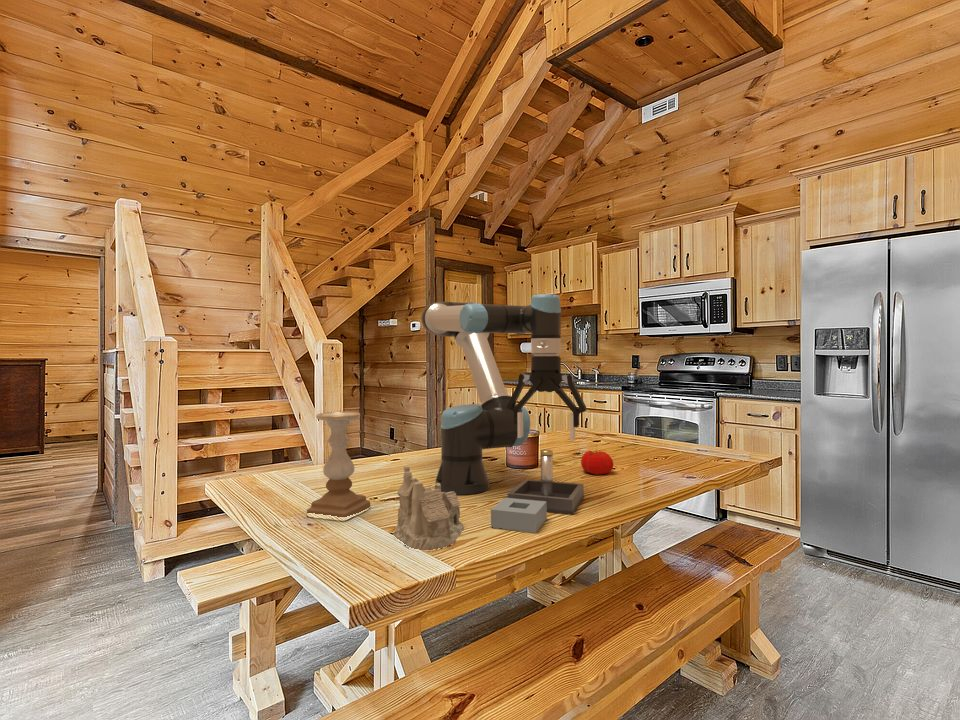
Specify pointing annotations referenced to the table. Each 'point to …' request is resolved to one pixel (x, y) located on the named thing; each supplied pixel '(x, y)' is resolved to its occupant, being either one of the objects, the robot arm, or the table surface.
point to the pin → (547, 472)
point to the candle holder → (339, 471)
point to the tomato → (597, 462)
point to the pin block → (519, 515)
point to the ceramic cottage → (426, 515)
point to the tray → (563, 495)
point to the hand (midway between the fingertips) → (546, 438)
